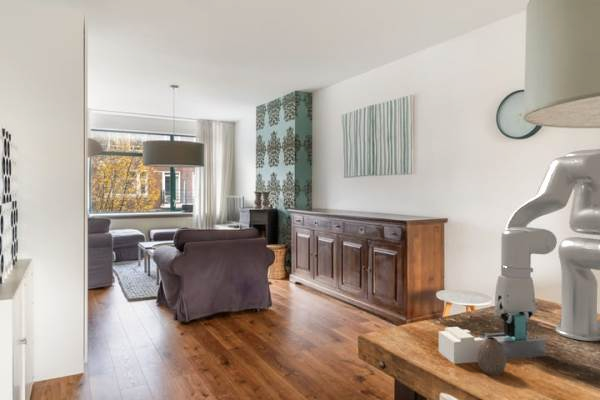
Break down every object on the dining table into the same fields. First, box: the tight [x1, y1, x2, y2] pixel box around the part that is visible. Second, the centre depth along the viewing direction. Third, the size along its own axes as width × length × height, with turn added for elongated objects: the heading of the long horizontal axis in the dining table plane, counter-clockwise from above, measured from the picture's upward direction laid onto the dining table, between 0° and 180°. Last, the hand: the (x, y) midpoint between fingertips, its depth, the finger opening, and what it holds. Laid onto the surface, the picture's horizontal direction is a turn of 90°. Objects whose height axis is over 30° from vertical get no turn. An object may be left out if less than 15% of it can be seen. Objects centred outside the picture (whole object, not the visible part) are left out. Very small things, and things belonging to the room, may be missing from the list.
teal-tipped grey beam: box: [481, 312, 526, 342], centre depth 116 cm, size 14×4×10 cm, turn 99°
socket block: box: [438, 326, 484, 365], centre depth 114 cm, size 9×8×7 cm
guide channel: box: [484, 330, 547, 360], centre depth 117 cm, size 14×8×4 cm, turn 99°
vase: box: [477, 337, 507, 376], centre depth 105 cm, size 7×7×9 cm
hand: (515, 334), depth 117 cm, fingers closed on teal-tipped grey beam, 3 cm apart
